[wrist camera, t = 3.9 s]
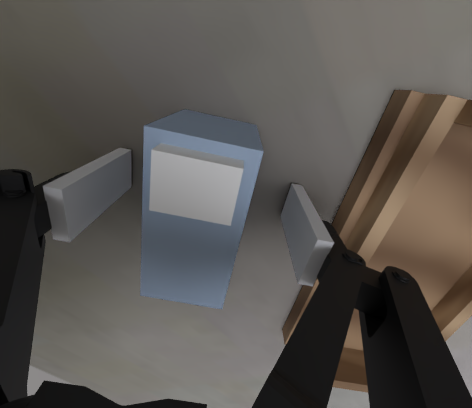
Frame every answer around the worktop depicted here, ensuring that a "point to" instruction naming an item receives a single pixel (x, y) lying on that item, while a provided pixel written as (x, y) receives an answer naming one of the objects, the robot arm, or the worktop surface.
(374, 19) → the worktop surface
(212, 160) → the blue block with label
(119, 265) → the worktop surface
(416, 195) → the wooden tray
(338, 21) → the worktop surface
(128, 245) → the worktop surface
